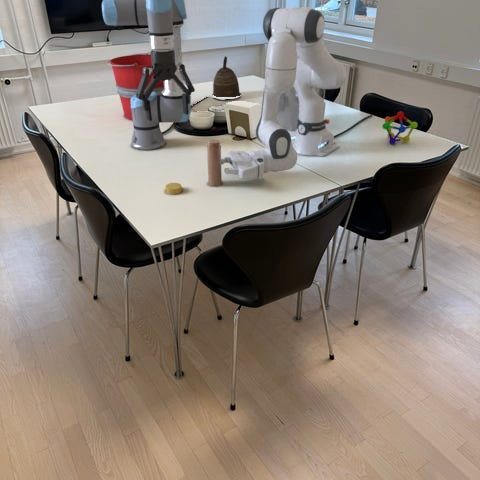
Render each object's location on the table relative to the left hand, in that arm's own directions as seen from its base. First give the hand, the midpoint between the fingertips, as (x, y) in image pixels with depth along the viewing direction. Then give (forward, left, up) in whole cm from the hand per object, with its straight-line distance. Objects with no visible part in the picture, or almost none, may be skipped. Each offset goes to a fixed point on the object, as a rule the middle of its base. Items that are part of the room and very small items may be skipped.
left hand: (168, 116), depth 151 cm
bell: (-138, 0, -28) cm, 140 cm away
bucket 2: (-86, +44, -28) cm, 100 cm away
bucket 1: (-94, -39, -28) cm, 105 cm away
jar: (-8, +14, -28) cm, 32 cm away
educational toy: (-65, +92, -28) cm, 116 cm away
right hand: (-10, +17, -21) cm, 29 cm away
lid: (0, 0, -26) cm, 26 cm away
